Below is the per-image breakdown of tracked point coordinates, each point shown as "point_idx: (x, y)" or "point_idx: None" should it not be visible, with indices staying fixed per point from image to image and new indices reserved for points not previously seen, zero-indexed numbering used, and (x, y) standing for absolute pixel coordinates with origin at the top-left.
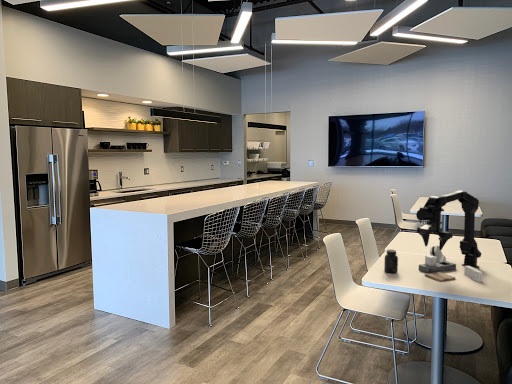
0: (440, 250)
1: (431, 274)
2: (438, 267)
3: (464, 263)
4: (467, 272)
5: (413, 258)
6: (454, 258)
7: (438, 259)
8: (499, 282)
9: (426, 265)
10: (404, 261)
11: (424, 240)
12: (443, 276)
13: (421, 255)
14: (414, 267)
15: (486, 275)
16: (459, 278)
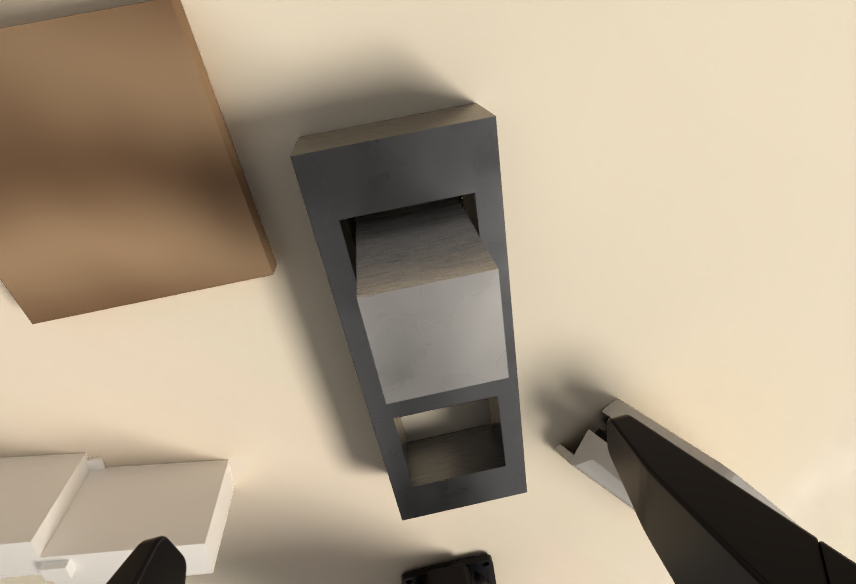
0: None
1: (153, 97)
2: (343, 321)
3: (461, 579)
4: (170, 494)
5: (841, 322)
6: (651, 579)
7: (605, 464)
8: (6, 578)
9: (435, 212)
10: (837, 159)
11: (765, 556)
12: (58, 209)
13: (851, 431)
14: (591, 123)
15: (208, 579)
16: (95, 368)
